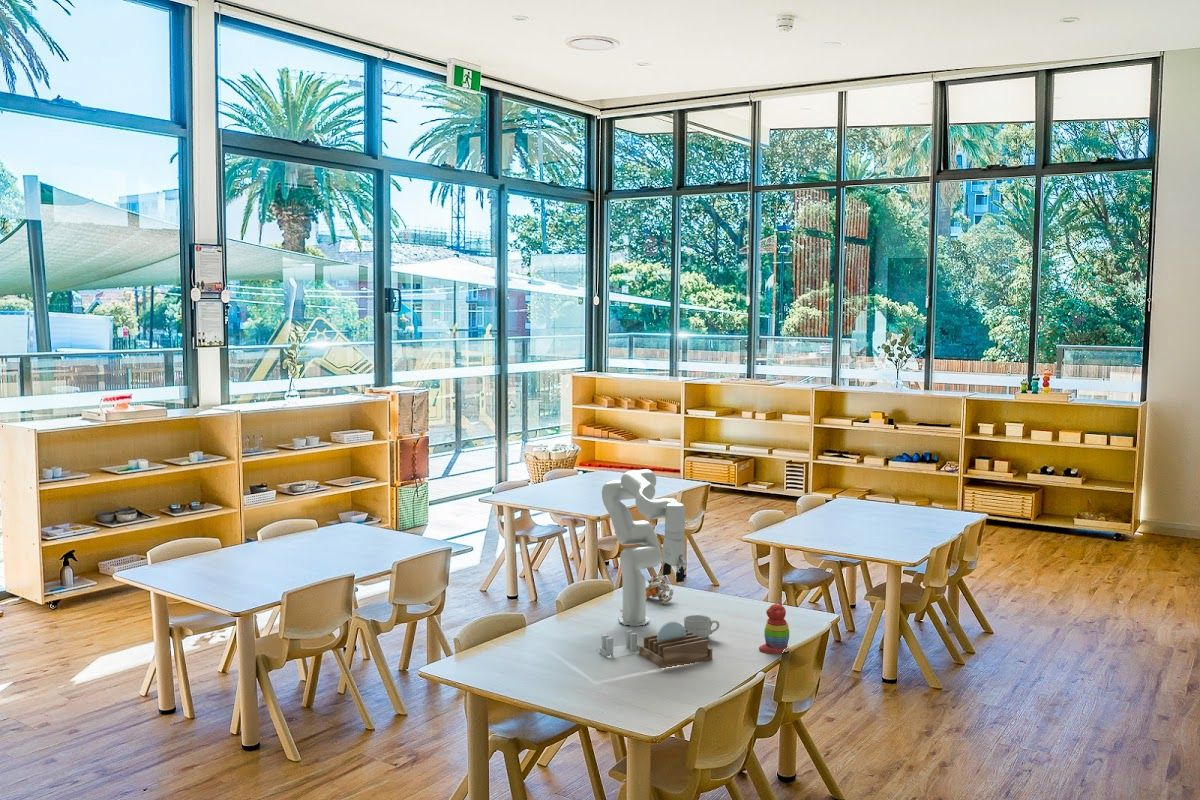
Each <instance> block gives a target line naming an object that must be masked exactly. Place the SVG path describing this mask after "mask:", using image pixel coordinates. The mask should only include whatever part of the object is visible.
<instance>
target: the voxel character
mask: <svg viewBox="0 0 1200 800" xmlns="http://www.w3.org/2000/svg"><path fill="white" fill-rule="evenodd" d="M646 581H647V582H648V586H646V599H649V598H650V597H652V598H653V599H654V598H658V599H659V600H662V599H663V600H662V601H660V603H659V604H660V605H664V604H665V603H668V602H669V601H671V600H673V595H674V589H673V588H670V586H669V584H668V583H666V581H665V575H663V573H660V572H658V573H657V574H656V575H652V576H650V577H649V578H648V580H646ZM666 592H668V594H666Z"/></svg>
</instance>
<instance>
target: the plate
mask: <svg viewBox="0 0 1200 800" xmlns="http://www.w3.org/2000/svg"><path fill="white" fill-rule="evenodd" d="M656 635H657V642H658V641H664V640H669V639H674V638H679V637H685V636H686V631H685V628H684V625H682V624H681V623H680V622H677V621H668V622H667V623H664V624H663V625H662V626H661V627H660V629H659V630H658V632H657V634H656Z"/></svg>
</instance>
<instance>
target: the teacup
mask: <svg viewBox="0 0 1200 800" xmlns="http://www.w3.org/2000/svg"><path fill="white" fill-rule="evenodd" d="M683 620H684V621H683V623H684V625H683V627H684V628H685V629H687V630H688V632H693V635H695V634H697V635H698V637H703V640H706V639H707V638H708V637H709V636H710V635H712V634H713V633H715V632H716V631H718V630H719V628H720V621H718V620H716V619H713V620H712V618H711V617H710V616H707V615H704V614H703V615H702V614H701V615H700V614H699V615H698V614H694V615H693V614H691V615H687V616H685V617H684V618H683ZM713 623H714V624H716V627H715V628H714V629H712V626H713Z"/></svg>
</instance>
